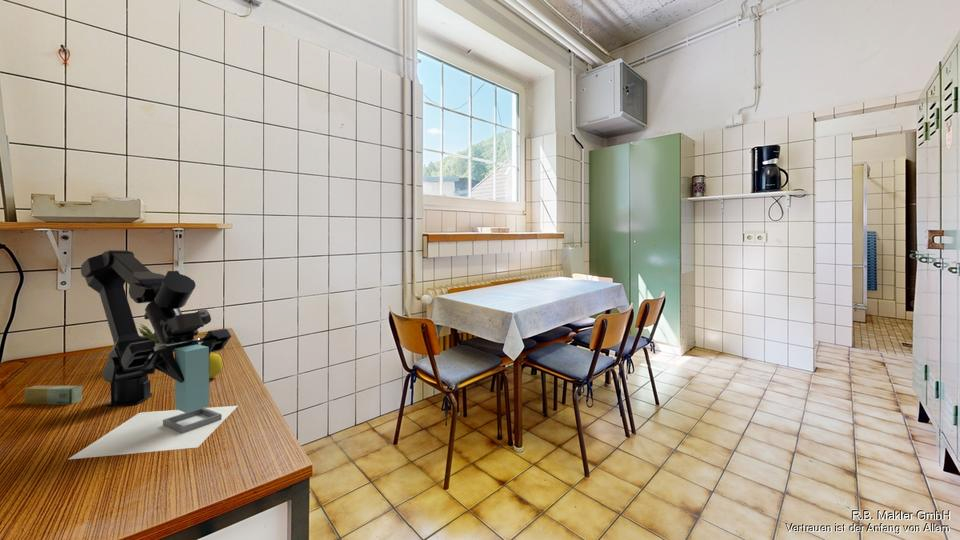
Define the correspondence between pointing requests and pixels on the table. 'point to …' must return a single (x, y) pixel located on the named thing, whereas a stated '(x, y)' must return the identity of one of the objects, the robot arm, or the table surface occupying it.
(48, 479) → the table surface
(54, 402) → the medication box
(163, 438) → the baseplate
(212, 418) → the socket
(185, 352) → the post
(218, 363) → the lemon
